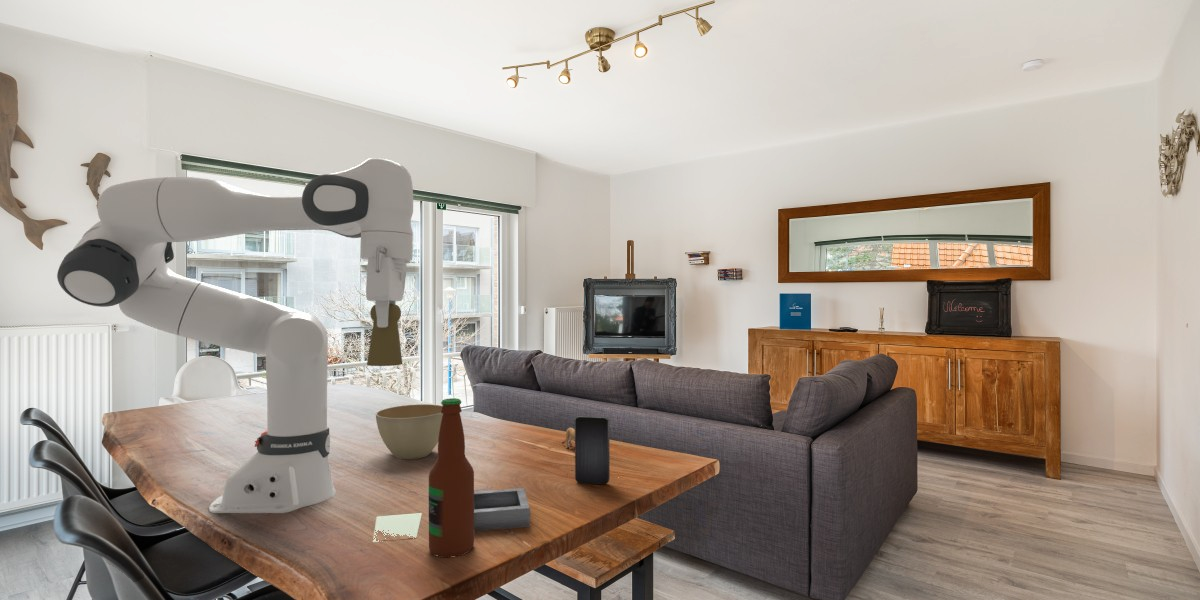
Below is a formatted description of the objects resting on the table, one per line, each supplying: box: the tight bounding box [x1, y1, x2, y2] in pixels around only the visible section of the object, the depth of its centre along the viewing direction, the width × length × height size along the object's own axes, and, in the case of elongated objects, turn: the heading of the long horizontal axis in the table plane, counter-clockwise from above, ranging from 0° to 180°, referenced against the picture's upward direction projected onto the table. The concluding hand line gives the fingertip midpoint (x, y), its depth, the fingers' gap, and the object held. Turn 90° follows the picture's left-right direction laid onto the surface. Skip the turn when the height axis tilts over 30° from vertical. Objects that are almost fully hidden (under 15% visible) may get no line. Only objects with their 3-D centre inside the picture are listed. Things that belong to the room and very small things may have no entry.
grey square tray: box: [474, 487, 531, 532], centre depth 108 cm, size 11×11×4 cm
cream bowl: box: [375, 403, 443, 460], centre depth 151 cm, size 18×18×12 cm
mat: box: [372, 512, 423, 543], centre depth 102 cm, size 12×12×1 cm
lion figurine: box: [561, 427, 575, 449], centre depth 158 cm, size 12×4×7 cm, turn 44°
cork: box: [366, 303, 403, 367], centre depth 102 cm, size 6×6×11 cm
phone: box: [574, 415, 611, 486], centre depth 128 cm, size 8×1×15 cm, turn 78°
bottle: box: [428, 397, 475, 558], centre depth 94 cm, size 7×7×25 cm
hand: (385, 326), depth 103 cm, fingers closed on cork, 5 cm apart
